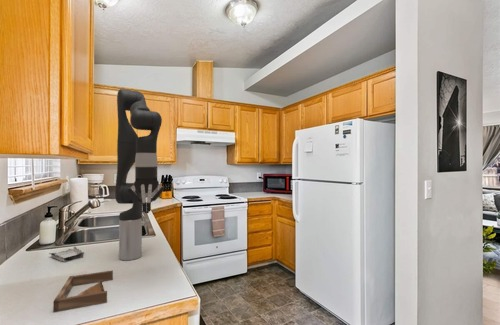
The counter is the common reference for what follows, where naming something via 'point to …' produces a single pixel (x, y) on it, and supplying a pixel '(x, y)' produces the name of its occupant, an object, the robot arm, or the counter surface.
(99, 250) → the counter surface
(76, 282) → the wooden c-shaped bracket
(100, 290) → the shard
